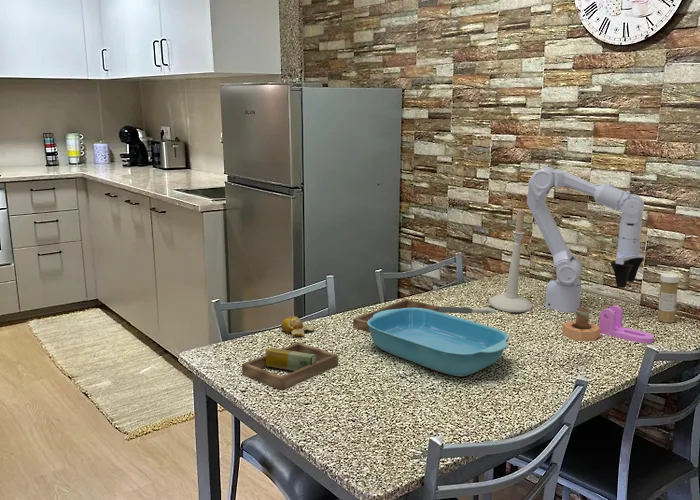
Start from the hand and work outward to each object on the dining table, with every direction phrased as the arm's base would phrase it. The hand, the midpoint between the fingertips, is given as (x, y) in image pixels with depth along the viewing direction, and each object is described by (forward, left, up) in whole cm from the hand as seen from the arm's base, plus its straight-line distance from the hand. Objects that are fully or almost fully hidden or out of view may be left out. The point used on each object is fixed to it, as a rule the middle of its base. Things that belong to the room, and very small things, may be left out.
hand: (625, 284), depth 183 cm
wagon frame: (-47, -46, -9) cm, 66 cm away
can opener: (-36, -27, -13) cm, 47 cm away
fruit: (-59, -70, -11) cm, 92 cm away
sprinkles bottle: (+11, +3, -10) cm, 15 cm away
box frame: (-45, -90, -9) cm, 101 cm away
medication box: (-45, -90, -10) cm, 101 cm away
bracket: (+7, -17, -10) cm, 21 cm away
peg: (-3, -24, -9) cm, 26 cm away
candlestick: (-29, -13, -9) cm, 33 cm away
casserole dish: (-25, -60, -10) cm, 66 cm away
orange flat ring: (-3, -24, -9) cm, 26 cm away
